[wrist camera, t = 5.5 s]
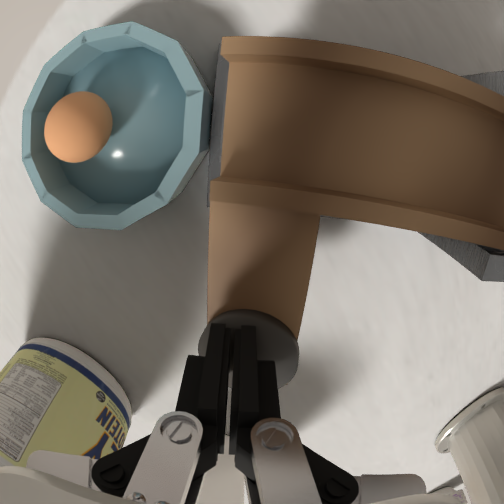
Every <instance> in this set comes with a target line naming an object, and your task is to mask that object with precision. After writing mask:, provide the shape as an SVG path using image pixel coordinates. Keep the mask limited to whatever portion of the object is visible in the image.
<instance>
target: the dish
mask: <svg viewBox="0 0 504 504" xmlns="http://www.w3.org/2000/svg"><path fill="white" fill-rule="evenodd" d="M79 91H86V92H91V93H94V94H97V95H98V96H100V97H101V98H102V99H103V100H105V102H106V103H107V104H108V106H109V108H110V110H111V114H112V120H113V125H112V131H111V135H110V137H109V140H108V142H107V143H106V145H105V146H104V148H103V149H102V150H101V151H100V152H99V153H98V154H97V155H95V156H94V157H92V158H90V159H88V160H86V161H83V162H77V163H71V162H65V161H63V160H60V159H59V158H57V157H56V156H55V155H53V154H52V152H51V151H50V150H49V148H48V146H47V144H46V141H45V136H44V127H45V122H46V119H47V116H48V114H49V112H50V110H51V109H52V107H53V106H54V105H55V104H56V103H57V102H58V101H59V100H60V99H62V98H63V97H65V96H66V95H68V94H71V93H74V92H79ZM212 111H213V97H212V95H211V93H210V91H209V89H208V87H207V85H206V83H205V82H204V80H203V78H202V76H201V74H200V72H199V70H198V68H197V66H196V65H195V63H194V61H193V59H192V57H191V56H190V55H189V54H188V53H187V51H186V50H185V49H184V48H183V47H182V46H181V44H180V43H179V42H178V41H176V40H174V39H172V38H170V37H168V36H166V35H163V34H161V33H159V32H157V31H154V30H152V29H150V28H148V27H145V26H143V25H140V24H138V23H135V22H133V21H130V22H124V23H119V24H114V25H109V26H104V27H99V28H95V29H91V30H87V31H84V32H82V33H81V34H79V35H78V36H77V37H76V38H74V39H73V40H72V41H71V42H69V43H68V44H67V45H66V46H65V47H64V48H62V49H61V50H60V51H59V52H58V53H57V54H56V55H54V56H53V57H52V58H51V59H50V60H49V61H48V62H47V63H46V64H45V65H44V66H43V68H42V70H41V72H40V74H39V76H38V78H37V80H36V83H35V85H34V87H33V89H32V91H31V93H30V96H29V98H28V100H27V103H26V105H25V107H24V110H23V121H22V161H23V163H24V165H25V168H26V170H27V172H28V175H29V177H30V179H31V181H32V184H33V186H34V188H35V190H36V192H37V194H38V196H39V199H40V201H41V202H42V203H44V204H45V205H46V206H48V207H49V208H50V209H52V210H53V211H54V212H56V213H57V214H58V215H60V216H61V217H62V218H64V219H65V220H66V221H68V222H69V223H70V224H72V225H73V226H75V227H76V228H93V229H109V230H122V229H124V228H126V227H128V226H129V225H131V224H133V223H134V222H136V221H138V220H140V219H141V218H143V217H145V216H147V215H149V214H150V213H152V212H154V211H156V210H158V209H159V208H161V207H163V206H165V205H167V204H168V203H169V202H170V201H171V200H173V199H174V198H175V197H176V196H177V195H179V194H180V193H181V192H182V191H183V190H184V188H185V187H186V185H187V183H188V182H189V180H190V179H191V177H192V175H193V174H194V172H195V171H196V169H197V168H198V166H199V164H200V163H201V161H202V160H203V158H204V157H205V155H206V154H207V152H208V151H209V149H210V137H211V123H212Z"/></svg>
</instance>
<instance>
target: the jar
mask: <svg viewBox="0 0 504 504" xmlns="http://www.w3.org/2000/svg"><path fill="white" fill-rule="evenodd" d="M234 457H235V455H229V436H227V435H225V444H224V454H218V461H216V466H214V467H213V468H211V469H210V470H208V471H207V472H206V477H205V481H204V484H203V488H202V491H201V495H200V498H199V502H198V504H244V474H243V473H242V472H241V471H239V470H238V469H237V468H236V467H235V462H234Z"/></svg>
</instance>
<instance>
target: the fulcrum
mask: <svg viewBox="0 0 504 504" xmlns="http://www.w3.org/2000/svg"><path fill="white" fill-rule="evenodd" d="M220 53H221V44H219V51H218V60H217V70H216V80H215V91H214V102H213V114H212V127H211V142H210V157H209V174H208V194H207V207H210V201H209V197H210V181H211V180H213V179H215V178H218V177H220V173H221V158H222V143H223V130H224V117H225V105H226V94H227V83H228V72H229V62H228V61H227V60H226V59H225V58H224V57H223V56H221V55H220ZM461 77H463V78H465V79H468V80H470V81H472V82H475V83H477V84H479V85H481V86H484V87H486V88H488V89H490V90H492V91H494V92H496V93H498V94H500V95H502V96H504V71H498V72H489V73H481V74H474V75H467V76H461ZM320 216H322V217H331V216H324V215H320ZM332 218H337V217H332ZM341 219H344V218H341ZM349 220H350V219H349ZM418 233H420V234H421V235H423V236H424V237H426V238H427V239H428V240H430V241H431V242H432V243H434V244H435V245H437V246H438V247H439V248H441V249H442V250H443V251H445V252H446V253H447V254H449V255H450V256H451V257H452V258H454V259H455V260H456V261H458V262H459V263H460V264H461V265H463V266H464V267H465V268H466V269H468V270H469V271H470V272H471V273H473V274H474V275H475V276H476V277H478V278H479V279H480V280H481V281H497V282H504V250H500V249H496V248H492V247H488V246H483V245H479V244H475V243H470V242H466V241H461V240H456V239H452V238H447V237H442V236H437V235H432V234H427V233H422V232H418Z"/></svg>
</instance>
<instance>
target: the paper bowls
mask: <svg viewBox="0 0 504 504" xmlns="http://www.w3.org/2000/svg"><path fill="white" fill-rule="evenodd" d="M432 493H434V494H445V495H450V496H453V497H455V498H457V499H458V500H460V501H461V502H462V503H463V504H467V501H466V497H465V495H464V493H463V490H462V489H461V490H458V491H455V490H454V489H453V488H451V487H445V488H442V489H439V490H437V491H435V492H432ZM432 493H430V494H432Z"/></svg>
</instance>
